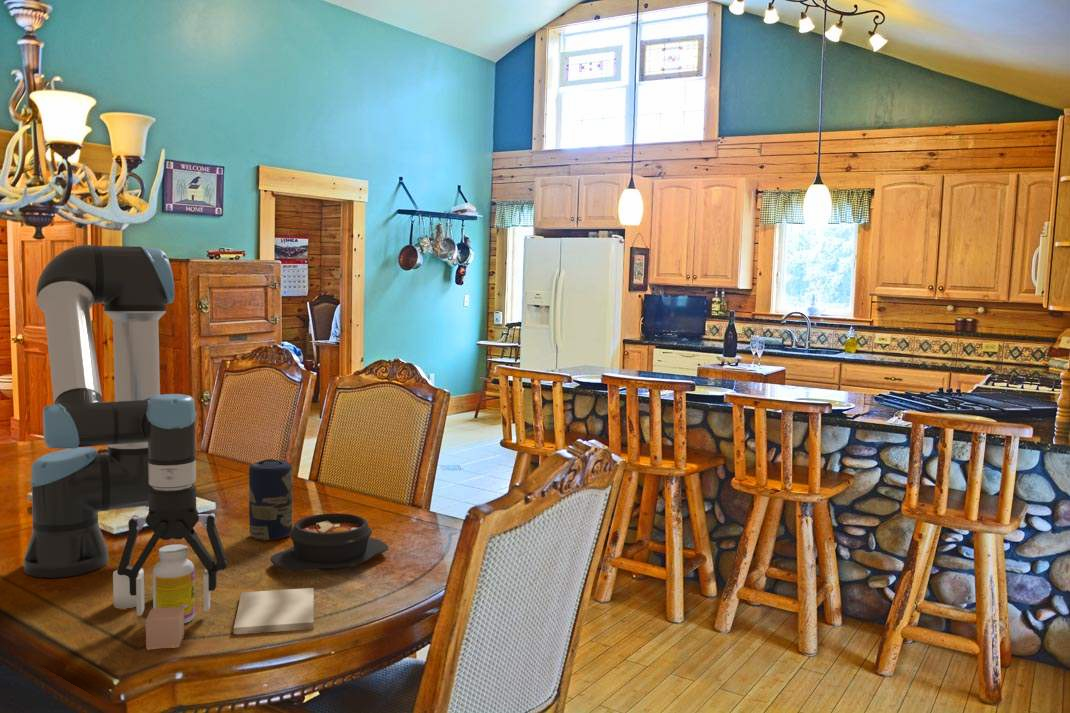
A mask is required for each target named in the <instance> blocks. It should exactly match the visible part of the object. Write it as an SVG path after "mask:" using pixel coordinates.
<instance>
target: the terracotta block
mask: <svg viewBox="0 0 1070 713" xmlns="http://www.w3.org/2000/svg"><path fill="white" fill-rule="evenodd" d="M183 635H184V636H185V624H184V607H169V608H154V609H153V608H151V609H150V610H149V613H148V616H147V617H146V620H145V642H146V643H145V645H146V646H145V648H150V647H151V648H153V647H163V646H171V645H174V646H175V645H180V643H181V640H182V637H183ZM183 638H184V637H183ZM182 641H183V640H182ZM181 644H182V643H181Z"/></svg>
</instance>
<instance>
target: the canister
mask: <svg viewBox="0 0 1070 713" xmlns="http://www.w3.org/2000/svg"><path fill="white" fill-rule="evenodd" d="M248 478H249V479H248V482H249V483H248V485H249V486H248V490H249V492H248V494H249V495H248V496H249V498H248V499H249V501H248V515H249V516H248V517H249V518H248V519H249V520H248V521H249V533H250V536H251V537H253V538H254V539H257V540H263V541H271V540H272V541H273V540H279V539H282V538H286V537H288V536H289V533H290V532H291V531H292V530H293V527H294V525H293V517H294V516H293V498H294V496H293V494H294V493H293V491H294V490H293V487H294V486H293V484H294V483H293V466H292V463H291V462H289V461H286V460H280V459H274V458H268V459H263V460H261V461H257V462H256V461H255V462H254V463H252V464H251V465H250V466H249V468H248Z"/></svg>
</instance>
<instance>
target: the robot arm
mask: <svg viewBox="0 0 1070 713" xmlns="http://www.w3.org/2000/svg"><path fill="white" fill-rule="evenodd" d="M174 301H175V281H174V274H173V270H172V266H171V263H170V260H169V257H168V255H167V254H166V253H165V252H164V251H163V249H160V248H157V247H147V246H141V245H140V246H131V245H130V246H128V245H127V246H123V245H122V246H121V245H93V244H81V245H80V244H79V245H75V246H72V247H70V248H67V249H65V250H63V251H62V252H60V253H58V254H57V255H56V256H54V257H53V258H52V259H51V260H50V261H49V262H48V264H46V266H45V267H44V269H43V270H42V272H41V273H40V276H39V278H38V281H37V285H36V302H37V303H36V304H37V306H38V308H39V309H40V311H41V312H42V313H44V320H45V330H46V339H47V349H48V358H49V367H50V370H49V371H50V377H51V386H52V387H51V388H52V395H53V396H52V397H53V404H50V405H49V404H48V405H46V406H45V407H43V409H42V428H43V430H42V431H43V440H44V441H43V442H44V444H45V446H46V447H48V448H50V449H59V450H56V451H51V452H50V453H46V454H43V455H42V456H39V457H38V458H37V459H35V460H34V462H33V463H32V465H31V477H30V479H31V480H30V481H29V482H30V483H29V484H30V487H31V508H32V509H31V516H32V532H31V535H30V539H29V542H28V546H27V548H26V551H25V553H24V557H23V564H22V565H23V572H24V573H25V574H26V575H28V576H31V577H36V578H45V579H46V578H51V579H53V578H56V579H57V578H65V577H72V576H79V575H83V574H88V573H89V572H90V573H91V572H93V571H96V570H98V569H100V568H102V567H104V566H105V565H107V563H108V562H109V549H108V545H107V543H106V541H105V538H104V535H103V533H102V531H101V528H100V526H99V512H104V511H105V512H106V511H113V510H121V509H122V510H123V509H129V508H130V509H131V508H139V507H146V508H148V514H147V515H146V516H145V515H144V516H138V515H136V514H135V515H132V516H131V517H130V519H129V520H128V523H127V524H128V536H127V539H126V541H125V545H124V548H123V551H122V555H121V558H120V561H119V565H118V567H117V570H118V571H117V573H118V575H125V576H128V577H129V581H130V594H131V596H133V595H136V603H137V607H136V616H137V617H138V616H142V615H143V613H144V611H145V573H139V571H140V569H141V568H143V566H144V564H145V562H146V561H147V559H148V558H149V557H150V554H151V552H153V549H154V548H155V546H156V545H157V543H158V542H159V540H162V541H169V540H183V539H184V540H185V542H186V543H187V544H189V546H190V548H191V550H192V551H193V552H194V553H195V555H196V557H197V558H198V560H199V561H200V562H201V563H202V565H203V567H204V569H205V570H204V572H203V612H209V611H210V607H211V591H212V592H214V591H215V590H216V588H217V585H218V584H217V572H219V571H221V570H222V571H223V570H225V569H226V568H227V565H228V558H227V556H226V555H227V554H226V553H225V549H224V547H223V543H222V541H221V538H220V535H219V531H218V528H217V526H216V521H217V519H216V518H217V514H216V513H215V512H210V513H209V514H207V513H199V512H198V509H197V486H196V485H195V484H194V483H195V482H196V481H197V460H196V419H197V412H196V406H195V405H196V403H195V399H194V397H192V396H191V395H188V394H182V393H165V394H161V384H160V383H161V382H160V379H161V378H160V376H161V375H160V340H159V337H160V335H159V334H160V333H159V328H160V327H159V321H160V319H161V317H164V315H165V314H166V313H167V305H170V304H172V303H173V302H174ZM93 304H103V310H104V311H103V312H104V313H105V315H107V316H108V317H109V318H110V319H111V321H112V332H113V334H112V335H113V336H112V337H113V341H112V342H113V369H114V370H113V373H114V374H113V375H114V376H113V377H114V378H113V380H114V401H103V394H102V388H101V381H100V375H99V374H100V373H99V366H98V361H97V360H98V359H97V353H96V346H95V340H94V332H93V326H92V319H91V312H90V310H91V308H92V307H93ZM96 446H107V453H98V451H97V449H96V448H94V447H96ZM198 522H200V523H201V525H202V527H203V528H206V532H207V536H208V539H209V543H210V545H211V548H212V551H213V553H214V554H213V555H214V557H215V560H216V561H215V560H214V558H213V557H212V556H211V554H210V553H209V551H208V550H207V548H206V547H205V545H204V544H203V542H202V540H201V539H200V538H199V536H198V533H197V532H196V530H195V529H194V527H195V526H196V525H197V523H198ZM145 524H146V525H147V526H148V527H149V529H151V531H152V532H153V534H152V535H151V537H150V539H149V540H148V542H147V543H146V545H145V547H144V548H143V550H142V552H141V553H140V555H139V557H138V559H137V560H136V562H135V563H134V565H133V566H130V562H131V559H132V556H133V552H134V549H135V546H136V543H137V539H138V536H139V534H140V531H141V530H142V529H143V527H144V525H145Z"/></svg>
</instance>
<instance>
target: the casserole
mask: <svg viewBox="0 0 1070 713" xmlns="http://www.w3.org/2000/svg"><path fill="white" fill-rule="evenodd" d="M372 534H373V530H372V528H371V527H370V526H369V523H368V521H367V519H366V518H365V517H363V516H359V515H356V514H350V513H337V512H336V513H332V512H331V513H321V514H313V515H310V516H306V517H303V518H301V519H299V520H298V519H297V521H296V522H294V525H293V528H292V531H291V532H290V533H289V535H288V536H289V538H290V539H291V541H292V545H293V546H291V547H288V548H287V549H285V550H282V551H279V552H276V553H274V554H273V555H272V556H271V557H270V561H271V563H272V564H273V565H274V566H276V567H278V568H281V569H284V570H288V571H290V572H292V571H293V572H303V571H313V570H322V571H331V570H333V571H334V569H335V570H341V569H346V568H349V567H352V566H356V565H360V564H362V563H365V562H367V561H369V560H370V559H373V558H374V557H375V556H378V555H380V554H383V553H385V552H386V551H387V550H388V549H389V546H388V545H387V543H385V542H384V541H383V540H380V539H378V538H374V537H371V536H372Z"/></svg>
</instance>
